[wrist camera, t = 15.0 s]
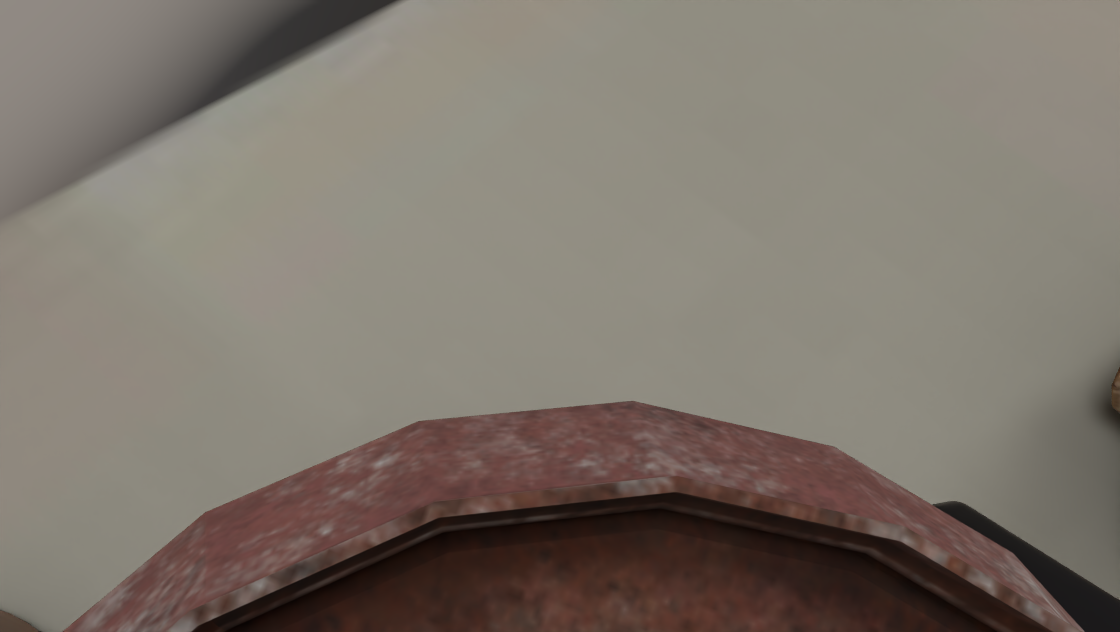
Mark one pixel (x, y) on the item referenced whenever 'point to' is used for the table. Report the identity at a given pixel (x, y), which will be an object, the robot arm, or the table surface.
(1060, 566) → the robot arm
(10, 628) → the wooden spoon
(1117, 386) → the mushroom
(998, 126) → the table surface
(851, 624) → the can
